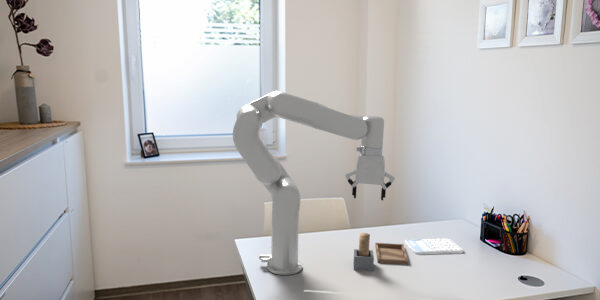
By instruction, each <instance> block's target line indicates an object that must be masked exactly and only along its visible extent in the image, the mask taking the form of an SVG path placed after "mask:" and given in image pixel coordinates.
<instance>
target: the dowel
mask: <svg viewBox="0 0 600 300" xmlns="http://www.w3.org/2000/svg"><path fill="white" fill-rule="evenodd" d="M370 236H371V235H370V233H367V232H361V233H360V232H359V236H358V237H359V241H358V250H359V256H366V257H369V250H370Z"/></svg>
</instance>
